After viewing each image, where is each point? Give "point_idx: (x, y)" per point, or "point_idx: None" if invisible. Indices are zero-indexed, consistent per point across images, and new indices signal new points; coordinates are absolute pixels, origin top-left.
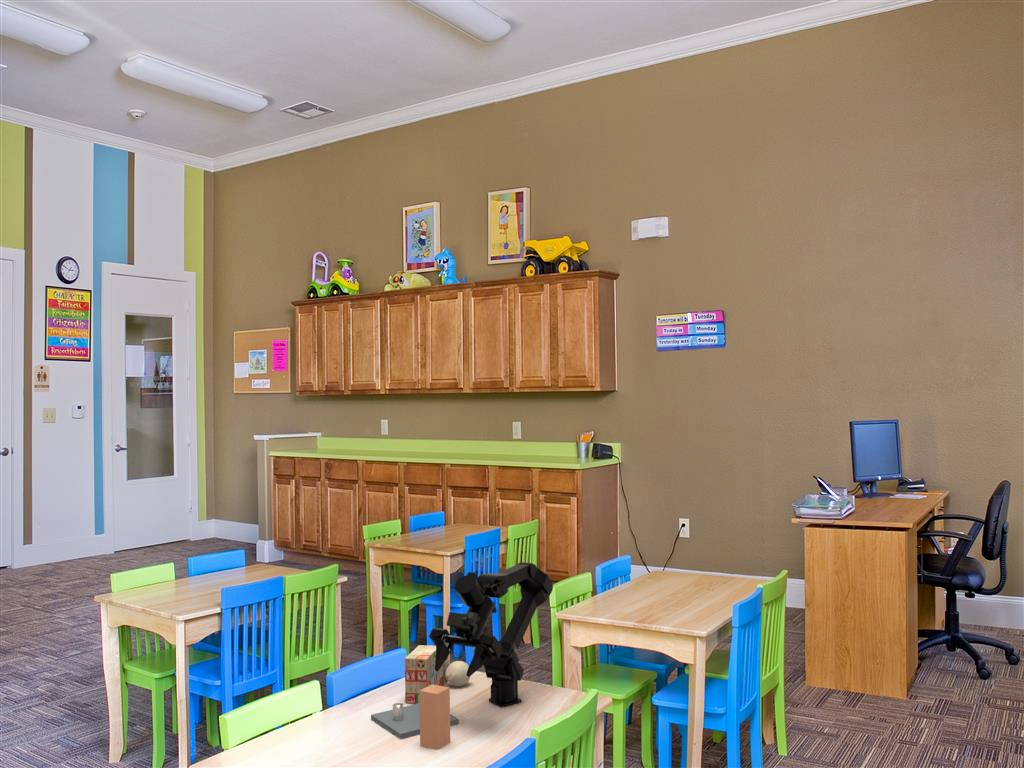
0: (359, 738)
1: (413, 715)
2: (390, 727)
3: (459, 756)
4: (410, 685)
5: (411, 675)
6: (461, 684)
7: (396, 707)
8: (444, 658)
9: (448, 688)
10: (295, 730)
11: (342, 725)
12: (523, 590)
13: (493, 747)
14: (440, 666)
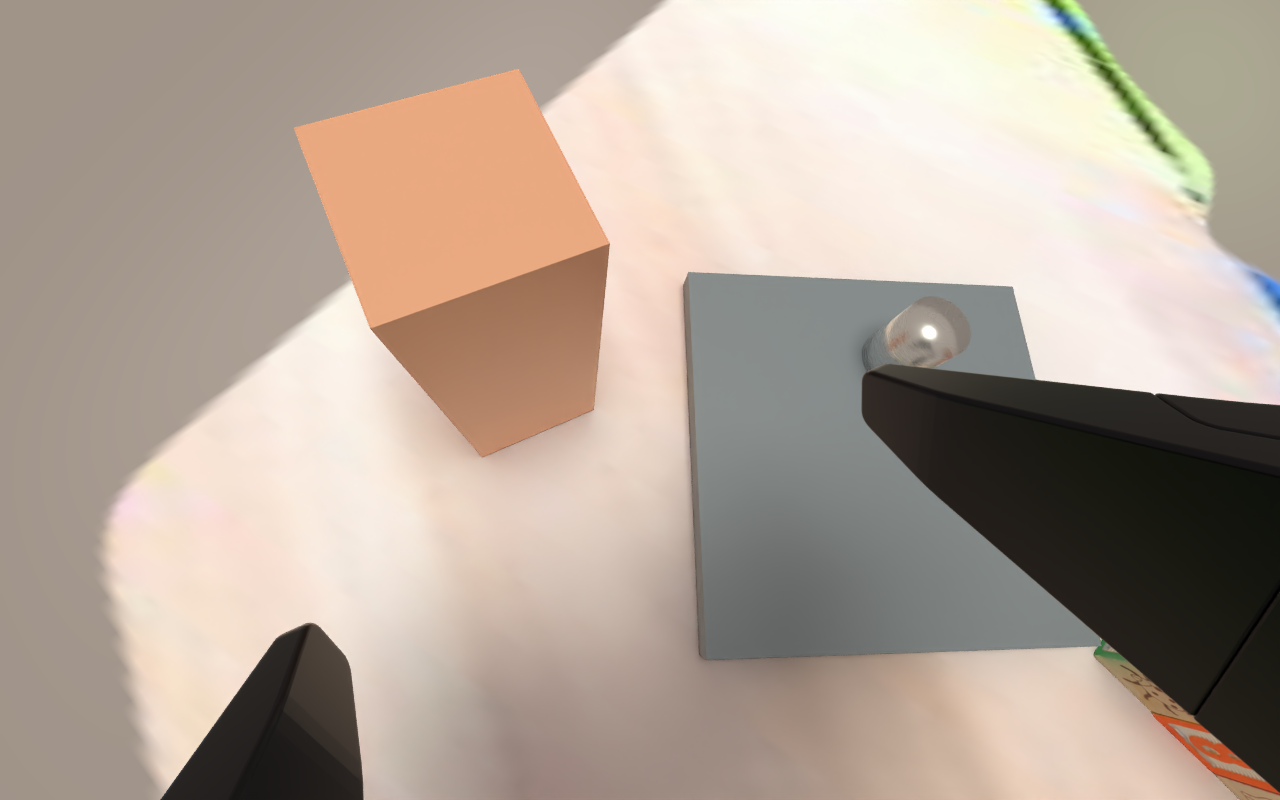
0: (798, 164)
1: None
2: (800, 277)
3: (280, 393)
4: None
5: None
6: None
7: (909, 307)
8: (1119, 609)
9: (363, 310)
10: (1006, 42)
11: (979, 180)
12: None
13: (221, 625)
14: (934, 475)
